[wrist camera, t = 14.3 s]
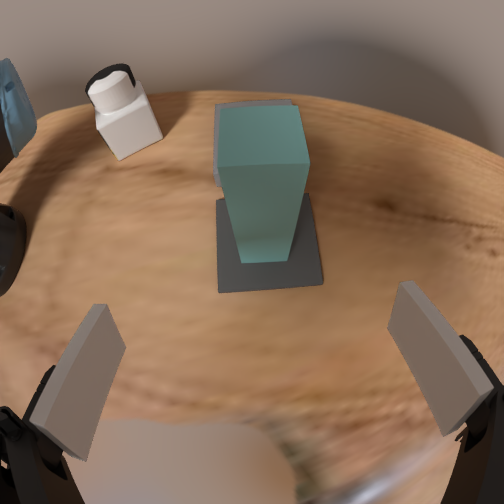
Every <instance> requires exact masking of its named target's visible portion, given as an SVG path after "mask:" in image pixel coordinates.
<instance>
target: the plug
mask: <svg viewBox="0 0 504 504" xmlns="http://www.w3.org/2000/svg"><path fill="white" fill-rule="evenodd" d="M309 167H310V159H309V154H308V149H307V144H306V140H305V135H304V131H303V126H302V122H301V117H300V113H299V109H298V106H296V105H284V106H251V107H236V108H224V109H220V120H219V138H218V159H217V169H218V173H219V177H220V181H221V185H222V189H223V193H224V197H225V201H226V205H227V209H228V213H229V217H230V220H231V224H232V228H233V232H234V236H235V240H236V244H237V248H238V252H239V255H240V259H241V263H259V262H279V261H287V260H288V256H289V252H290V248H291V244H292V240H293V236H294V232H295V228H296V224H297V220H298V215H299V211H300V207H301V203H302V198H303V194H304V190H305V185H306V181H307V176H308V172H309Z"/></svg>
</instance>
